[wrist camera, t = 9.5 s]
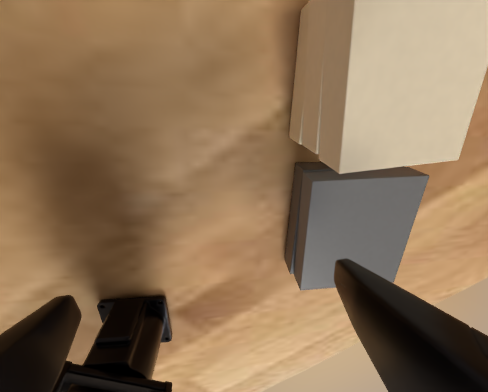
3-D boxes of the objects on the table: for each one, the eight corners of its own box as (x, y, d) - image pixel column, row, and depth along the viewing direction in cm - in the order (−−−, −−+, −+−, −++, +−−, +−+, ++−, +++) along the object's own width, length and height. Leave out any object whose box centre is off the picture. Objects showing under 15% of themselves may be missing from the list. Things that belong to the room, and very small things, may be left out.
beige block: (363, 137, 18) (412, 153, 14) (284, 138, 18) (306, 154, 13) (393, 7, 15) (473, -32, 10) (295, 2, 14) (331, -43, 10)
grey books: (366, 255, 24) (392, 285, 20) (284, 259, 23) (296, 291, 19) (394, 159, 19) (434, 175, 16) (295, 160, 19) (313, 177, 15)
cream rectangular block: (417, 148, 14) (459, 160, 11) (318, 159, 13) (339, 174, 11) (458, -30, 10) (529, -67, 8) (326, -19, 10) (359, -55, 8)
